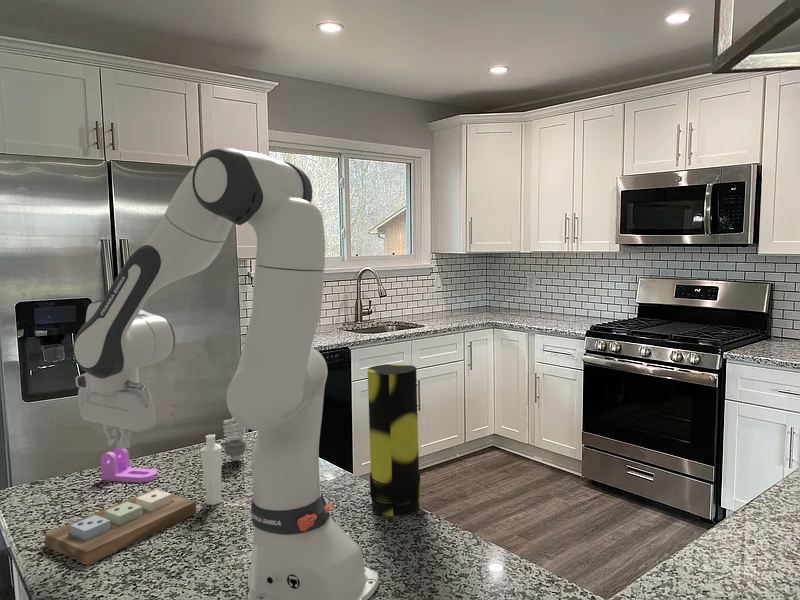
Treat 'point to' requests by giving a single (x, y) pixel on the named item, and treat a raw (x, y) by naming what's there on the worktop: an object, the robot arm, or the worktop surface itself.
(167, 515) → the dice board
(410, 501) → the container
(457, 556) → the worktop surface
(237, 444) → the light bulb
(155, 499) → the tile
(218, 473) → the white faceted bottle
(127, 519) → the tile
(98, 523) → the tile
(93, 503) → the worktop surface
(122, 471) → the bracket
